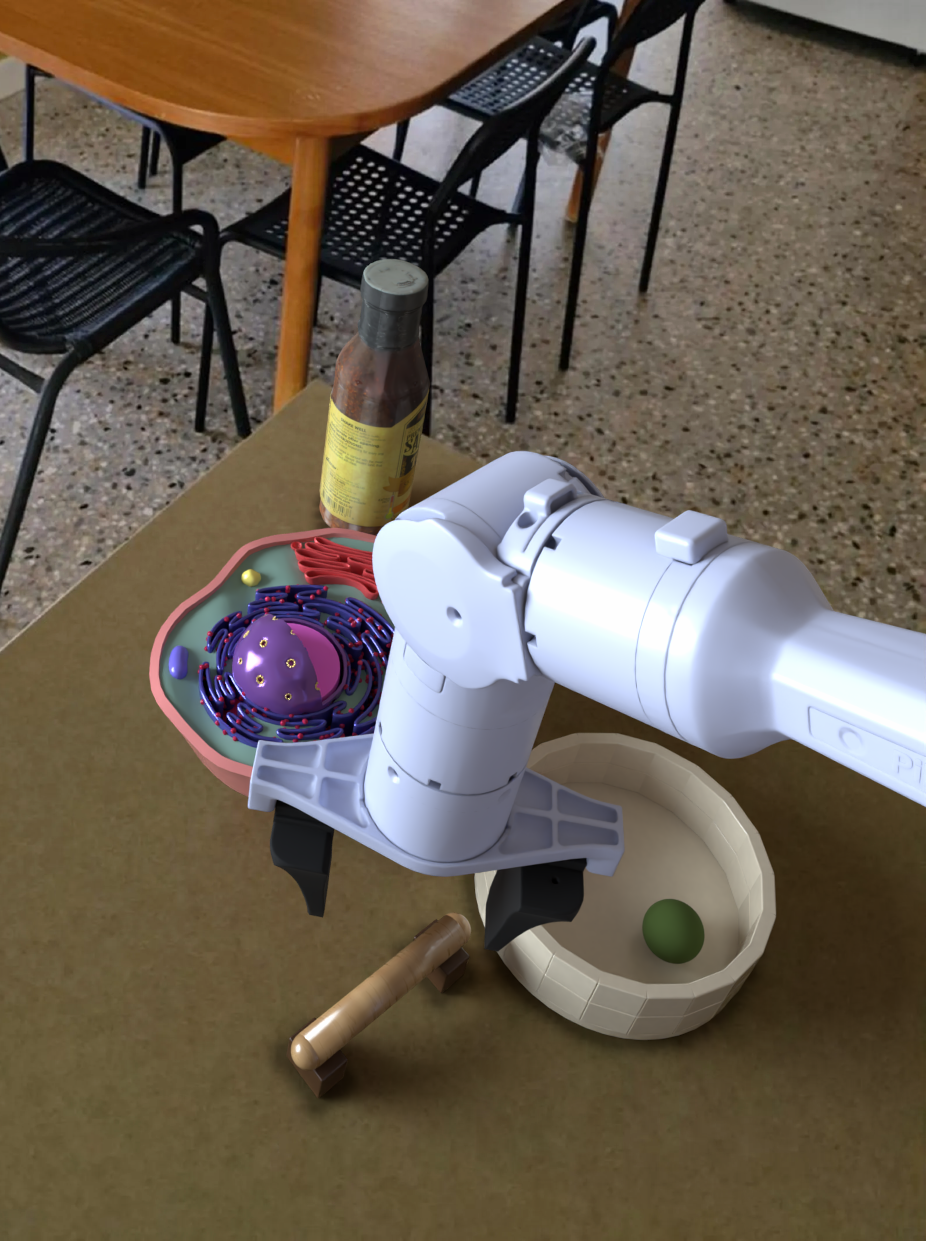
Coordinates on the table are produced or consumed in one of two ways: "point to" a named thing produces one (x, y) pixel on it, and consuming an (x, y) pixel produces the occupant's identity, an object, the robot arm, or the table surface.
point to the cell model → (276, 650)
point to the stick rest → (336, 1064)
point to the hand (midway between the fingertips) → (405, 911)
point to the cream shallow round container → (648, 894)
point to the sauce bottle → (377, 404)
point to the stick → (379, 991)
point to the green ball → (673, 931)
